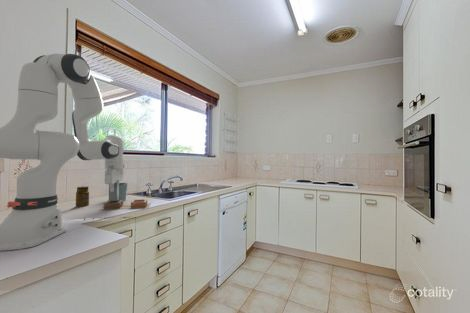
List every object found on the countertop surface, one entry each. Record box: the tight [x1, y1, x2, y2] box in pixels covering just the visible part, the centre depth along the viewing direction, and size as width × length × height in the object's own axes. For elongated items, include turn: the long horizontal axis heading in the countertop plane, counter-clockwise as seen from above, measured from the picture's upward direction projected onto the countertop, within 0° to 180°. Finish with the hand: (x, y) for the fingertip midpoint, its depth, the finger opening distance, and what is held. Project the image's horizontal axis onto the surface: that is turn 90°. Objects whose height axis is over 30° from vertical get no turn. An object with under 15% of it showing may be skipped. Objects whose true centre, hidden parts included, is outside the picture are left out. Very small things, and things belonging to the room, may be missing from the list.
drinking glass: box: [119, 182, 128, 202], centre depth 137 cm, size 10×10×12 cm
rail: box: [99, 198, 151, 211], centre depth 121 cm, size 12×24×4 cm, turn 104°
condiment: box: [75, 185, 90, 208], centre depth 121 cm, size 7×8×12 cm
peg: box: [108, 180, 120, 201], centre depth 119 cm, size 4×4×11 cm
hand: (113, 190), depth 119 cm, fingers closed on peg, 4 cm apart
